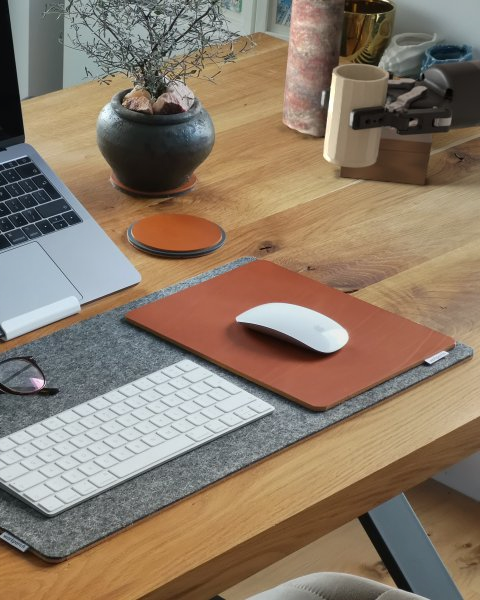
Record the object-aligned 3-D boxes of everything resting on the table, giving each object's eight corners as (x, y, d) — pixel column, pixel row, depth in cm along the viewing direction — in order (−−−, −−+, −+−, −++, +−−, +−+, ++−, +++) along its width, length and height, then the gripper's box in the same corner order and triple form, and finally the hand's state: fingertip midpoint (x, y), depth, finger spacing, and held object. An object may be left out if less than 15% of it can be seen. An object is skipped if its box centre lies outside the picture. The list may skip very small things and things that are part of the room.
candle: (278, 136, 161) (291, -2, 150) (281, 117, 167) (294, -17, 157) (331, 140, 159) (349, 1, 149) (332, 121, 165) (349, -14, 155)
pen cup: (377, 149, 129) (389, 65, 124) (376, 169, 124) (388, 83, 119) (324, 144, 130) (334, 61, 125) (321, 164, 125) (331, 79, 120)
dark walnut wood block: (422, 144, 158) (429, 104, 155) (424, 185, 146) (431, 142, 143) (343, 137, 160) (348, 97, 157) (339, 176, 149) (344, 134, 146)
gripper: (440, 43, 131) (310, 56, 127) (513, 83, 119) (373, 98, 115) (430, 104, 135) (304, 118, 131) (500, 148, 123) (364, 165, 119)
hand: (337, 109), depth 123 cm, fingers closed on pen cup, 6 cm apart
